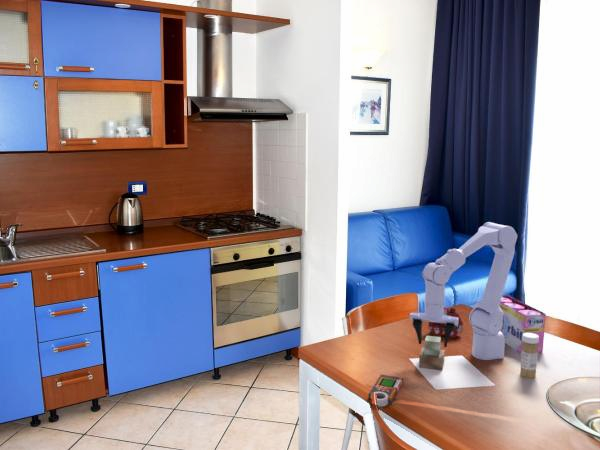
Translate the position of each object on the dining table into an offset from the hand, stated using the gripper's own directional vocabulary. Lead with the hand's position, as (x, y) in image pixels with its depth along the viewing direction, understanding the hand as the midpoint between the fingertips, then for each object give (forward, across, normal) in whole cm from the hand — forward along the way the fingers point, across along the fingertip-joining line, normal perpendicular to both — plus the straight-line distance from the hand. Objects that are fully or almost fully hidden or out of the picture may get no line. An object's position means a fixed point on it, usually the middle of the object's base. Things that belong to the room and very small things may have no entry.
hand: (432, 344), depth 173 cm
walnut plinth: (+7, 0, 0) cm, 7 cm away
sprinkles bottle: (+8, +28, +2) cm, 29 cm away
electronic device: (+8, -10, -23) cm, 27 cm away
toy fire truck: (+8, +1, +31) cm, 32 cm away
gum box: (+8, +25, +32) cm, 41 cm away
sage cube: (+3, 0, 0) cm, 3 cm away
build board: (+7, +6, -3) cm, 10 cm away
